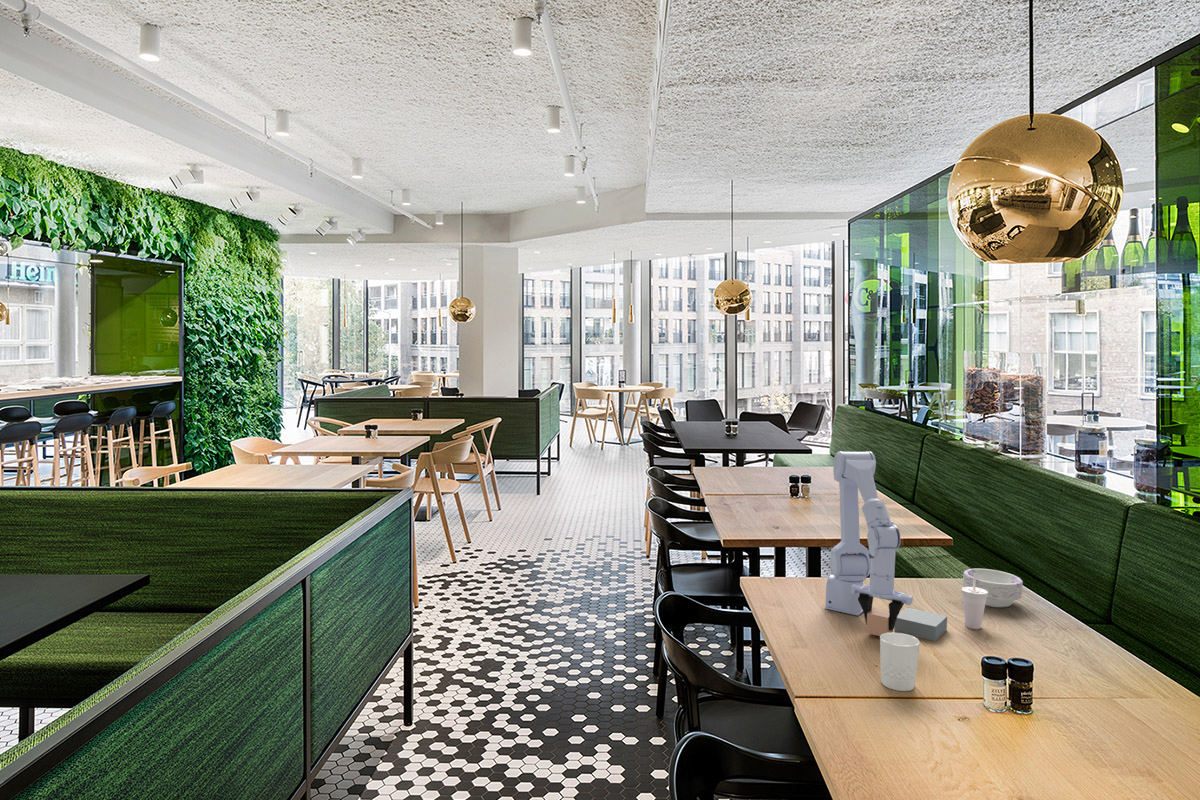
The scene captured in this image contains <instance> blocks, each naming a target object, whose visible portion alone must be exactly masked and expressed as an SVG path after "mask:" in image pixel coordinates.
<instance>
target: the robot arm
mask: <svg viewBox="0 0 1200 800" xmlns="http://www.w3.org/2000/svg"><path fill="white" fill-rule="evenodd" d="M832 463H833V465H832V466H833V467H832V469H833V479H834V481H836V482H838V486H839V513H840V514H839V515H840V516H839V517H840V518H839V519H840V542H838V543H837V544H836V545H834V546H833V547H832V548H831V550H830V558H829V568H830V569H829V570H830V572H831V574H830V575H828V577H827V581H826V583H825V584H826V585H825V606H824V609H826V610H830V611H835V612H839V613H840V612H841V613H844V614H848V615H853V616H860V615H862V613H863V615H864V616H863V617H864V620H865V626H867V613H868V612H869V611H871V610H872V609H873V603H874V602H873V601H874V598H877V599H881V600H886V601H890V602H889V603H888V611H889V630H890V631H892V630H893V631H894V626H895V622H896V619H897V616H898V614H900V613H901V610H902V608H903V606H904V605H906V606H907V605H908V606H911V605H913V601H914V599H913V595H910V594H906V593H903V592H900V591H897V590H894V589H895V573H896V571H895V570H896V569H895V567H896V566H895V565H896V550H897V549H899V548H900V546H901V540H902V539H901V532H900V530H899V527H898V526H897V525H895V523H894V521H891V518H890V515H889V513H888V510H887V507H886V503H885V502H884V501H883V500H880V499H879V496H878V491H877V487H876V484H875V483H876V482H875V479H874V476H875V472H876V467H877V461H876V457H875V454H874V453H873V452H872V451H870V450H869V451H868V450H867V451H841V450H839V451H837V452H836V454H835V455H834V457H833V462H832ZM859 493H860V496H861V497H862V500H863V502H864V504H863V505H862V507H861V510H862V513H863V517H864V520H865V522H866V525H867V529H868V530H867V534H866V536H867V537H866V539H867V543H868V548H867V547H866V546H864V545H863V544H862V543H860V542H861V541H860V540H861V539H860V512H859V511H860V510H859ZM867 577H869V585H864V581H866V580H867Z"/></svg>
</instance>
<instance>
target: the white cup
mask: <svg viewBox="0 0 1200 800" xmlns="http://www.w3.org/2000/svg"><path fill="white" fill-rule="evenodd" d="M920 642H921V641H920V640H919V638H918V637H916V636H912V635H908V634H904V633H900V632H892V633H884V634H882V635H881V636H879V650H880V652H879V657H880V658H879V660H880V661H879V662H880V665H879V666H880V682H881V684H882V686H884V687H886V688H887V689H890V690H893V691H899V692H910V691H913V690H914V689H915V688H916V680H917V679H916V678H917V672H918V666H919V665H918V664H919V653H920Z"/></svg>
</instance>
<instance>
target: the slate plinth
mask: <svg viewBox="0 0 1200 800" xmlns="http://www.w3.org/2000/svg"><path fill="white" fill-rule="evenodd" d="M947 629H948V616H947V615H943V614H939V613H935V612H934V613H933V612H930V611H924V610H920V609H916V608H911V607H906V608H905V609H904V610H902V611H900V612H899V614H898V616H897V619H896V622H895V626H894V629H893V632H894V633H902V634H907V635H910V636H913V637H915V638H921V639H924V640H928V641H933V642H936V641H938V639H940V637H941V636H942V635H943V634H944V633H945V632H946V631H947Z"/></svg>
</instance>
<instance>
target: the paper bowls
mask: <svg viewBox="0 0 1200 800" xmlns="http://www.w3.org/2000/svg"><path fill="white" fill-rule="evenodd" d="M974 573H976V581H975V587H977V588H982V589H984V590H986V591H988V597H987V598H986V603H985V607H992V608H1007V607H1008V608H1009V607H1010V606H1012V604H1013V603H1014V602H1015V601H1017V600H1020V599H1021V598H1022V595H1023V585H1024V584H1023V583H1024V581H1023V580H1022V579H1021V578H1020V577H1019V576H1017V575H1015V574H1012V573H1008V572H1005V571H1001V570H997V569H989V568H969V569H966V570H964V571H963V578H962V579H963V580H962V588H963V587H973V574H974Z"/></svg>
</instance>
